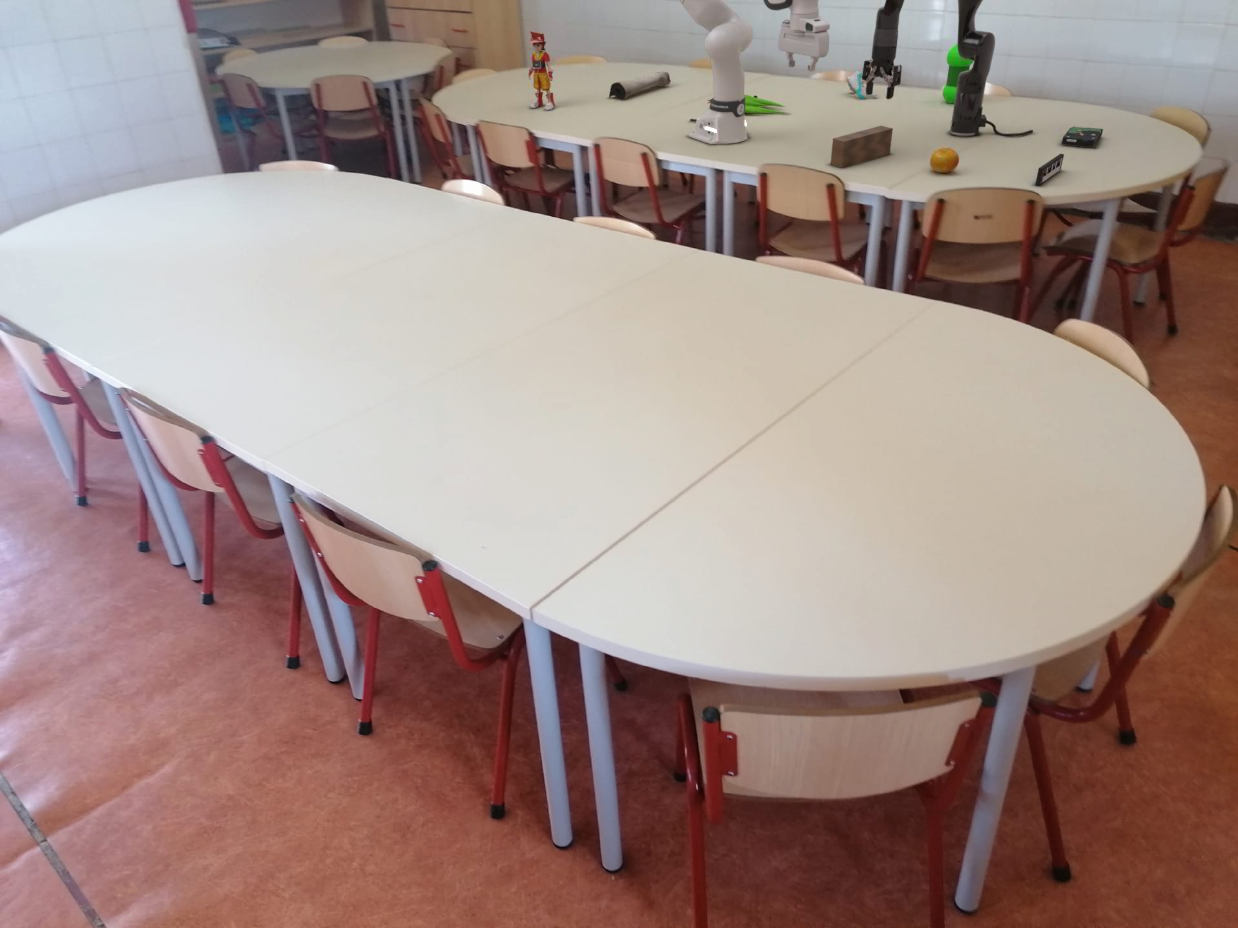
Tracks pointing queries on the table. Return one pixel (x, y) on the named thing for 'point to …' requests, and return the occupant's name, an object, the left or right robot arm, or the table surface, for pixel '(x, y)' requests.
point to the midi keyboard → (1049, 169)
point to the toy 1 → (541, 71)
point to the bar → (861, 146)
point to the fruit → (944, 160)
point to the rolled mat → (638, 84)
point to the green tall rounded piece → (954, 73)
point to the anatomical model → (858, 85)
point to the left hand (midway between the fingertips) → (801, 69)
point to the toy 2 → (754, 105)
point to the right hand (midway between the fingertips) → (879, 96)
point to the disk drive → (1082, 136)
